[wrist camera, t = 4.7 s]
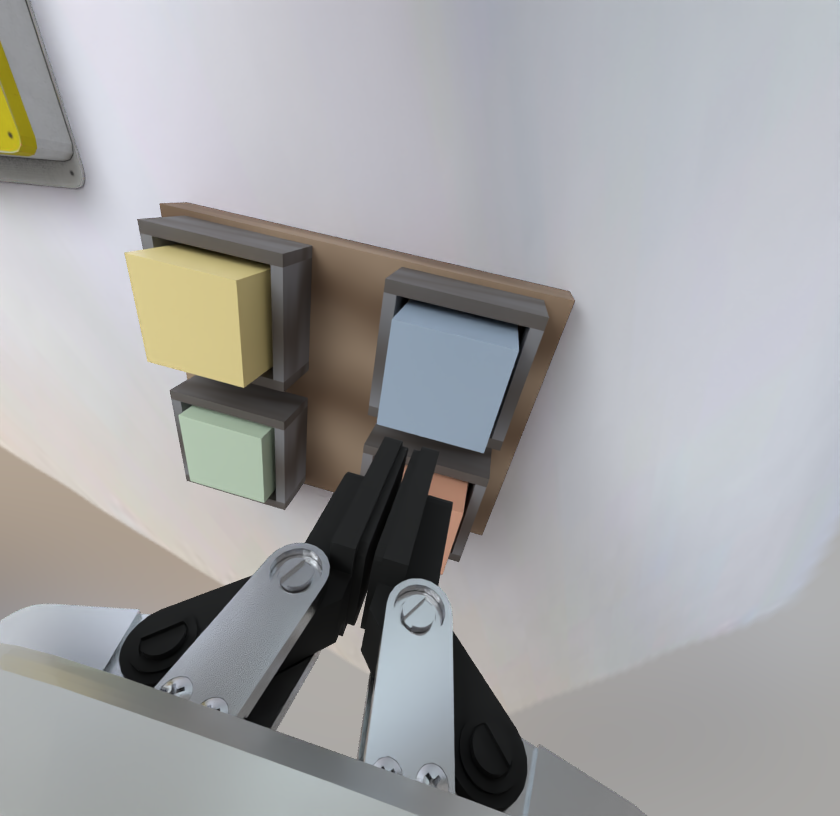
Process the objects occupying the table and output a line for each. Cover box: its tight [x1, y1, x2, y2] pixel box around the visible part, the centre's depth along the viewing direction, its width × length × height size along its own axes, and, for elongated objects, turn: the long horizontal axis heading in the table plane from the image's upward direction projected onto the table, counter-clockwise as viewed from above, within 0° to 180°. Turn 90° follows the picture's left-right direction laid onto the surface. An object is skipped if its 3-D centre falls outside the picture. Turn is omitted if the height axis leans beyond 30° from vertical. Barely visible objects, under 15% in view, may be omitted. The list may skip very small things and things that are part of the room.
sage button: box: [178, 405, 276, 503], centre depth 25 cm, size 5×5×3 cm
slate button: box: [377, 299, 519, 453], centre depth 18 cm, size 5×5×3 cm
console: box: [137, 202, 575, 562], centre depth 23 cm, size 17×22×5 cm
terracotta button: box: [402, 465, 468, 574], centre depth 23 cm, size 5×5×3 cm
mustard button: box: [125, 243, 273, 388], centre depth 19 cm, size 5×5×3 cm
